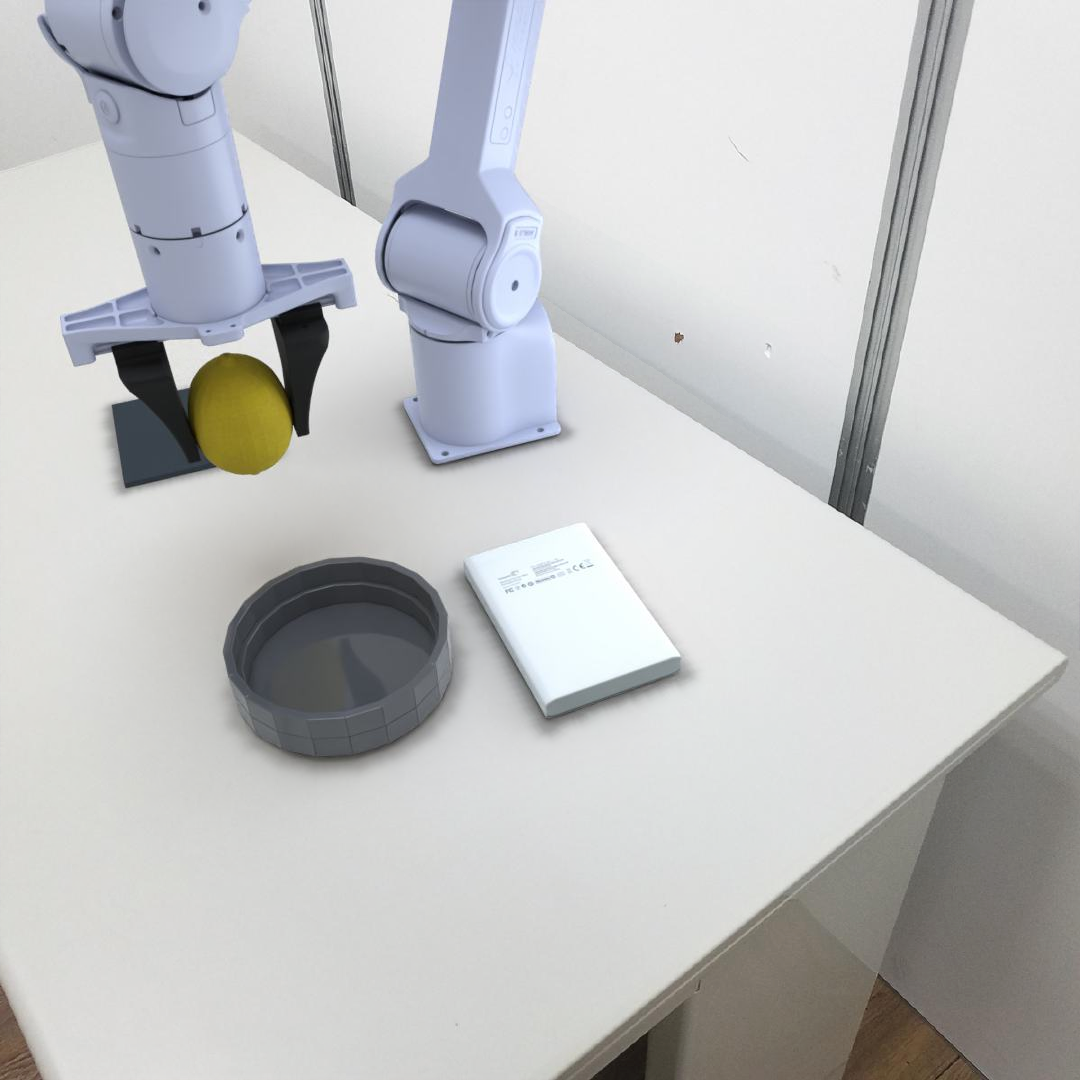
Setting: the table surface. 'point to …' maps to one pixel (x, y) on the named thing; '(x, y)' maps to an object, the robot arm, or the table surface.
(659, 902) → the table surface
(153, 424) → the mat
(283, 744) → the pan
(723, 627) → the table surface
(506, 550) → the hard drive
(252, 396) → the lemon
